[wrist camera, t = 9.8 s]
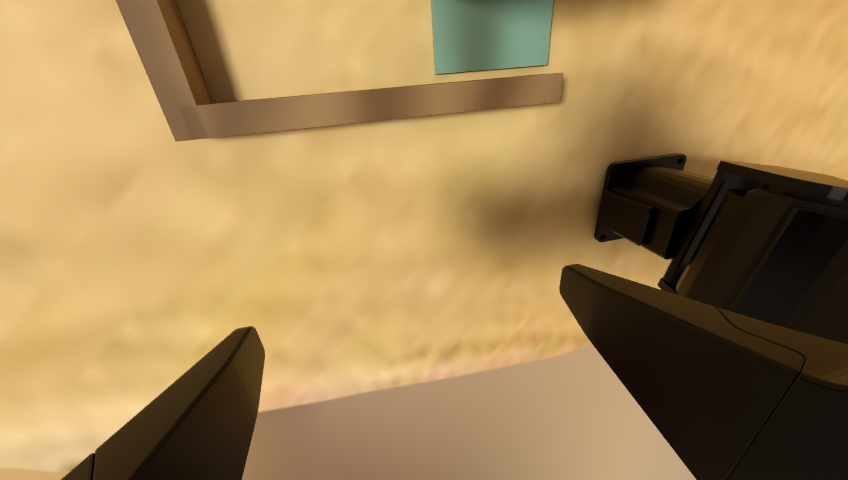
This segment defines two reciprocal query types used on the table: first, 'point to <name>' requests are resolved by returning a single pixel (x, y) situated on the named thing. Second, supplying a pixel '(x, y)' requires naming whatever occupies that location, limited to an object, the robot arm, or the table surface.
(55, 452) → the table surface
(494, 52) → the bay
